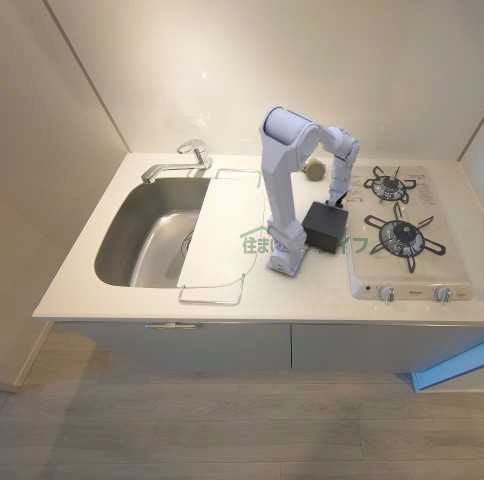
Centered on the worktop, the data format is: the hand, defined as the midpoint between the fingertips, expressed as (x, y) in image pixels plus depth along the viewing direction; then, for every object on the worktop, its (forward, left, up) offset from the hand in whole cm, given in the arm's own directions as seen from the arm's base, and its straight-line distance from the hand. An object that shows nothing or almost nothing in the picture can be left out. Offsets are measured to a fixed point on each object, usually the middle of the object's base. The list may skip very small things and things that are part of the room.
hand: (336, 205), depth 88 cm
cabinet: (-11, +1, -4) cm, 11 cm away
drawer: (-7, +1, -3) cm, 8 cm away
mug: (+16, +15, -4) cm, 22 cm away
